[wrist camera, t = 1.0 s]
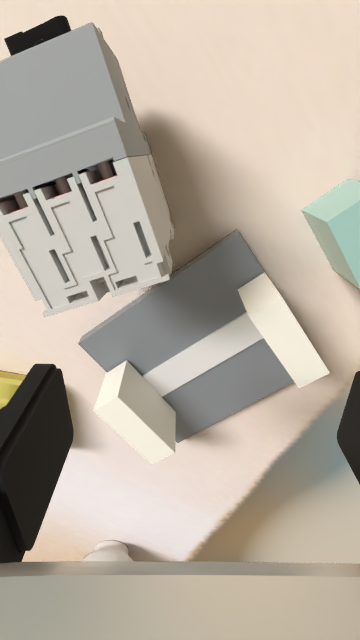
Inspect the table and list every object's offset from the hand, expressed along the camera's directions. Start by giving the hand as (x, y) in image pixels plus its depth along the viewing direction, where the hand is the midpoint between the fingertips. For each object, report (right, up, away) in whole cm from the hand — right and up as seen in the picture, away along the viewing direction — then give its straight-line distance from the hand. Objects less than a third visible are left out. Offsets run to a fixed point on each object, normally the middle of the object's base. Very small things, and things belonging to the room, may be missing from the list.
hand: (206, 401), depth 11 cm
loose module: (+14, +12, +21) cm, 28 cm away
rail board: (+2, 0, +27) cm, 27 cm away
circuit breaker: (-7, +17, +18) cm, 26 cm away
